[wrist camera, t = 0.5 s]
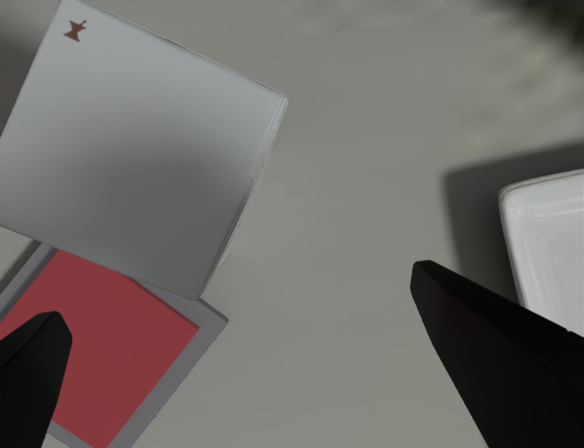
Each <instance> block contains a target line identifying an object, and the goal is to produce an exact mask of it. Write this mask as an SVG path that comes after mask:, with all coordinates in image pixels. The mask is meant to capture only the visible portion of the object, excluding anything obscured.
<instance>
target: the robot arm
mask: <svg viewBox="0 0 584 448" xmlns="http://www.w3.org/2000/svg"><path fill="white" fill-rule="evenodd" d="M410 290H411V294H412V297H413V299H414V302H415V304H416V306H417V309H418V311H419V314H420V316H421V319H422V321H423V323H424V326H425V328H426V331H427V333H428V336H429V338H430V340H431V342H432V345H433V346H434V348H435V350H436V352H437V354H438V356H439V358H440V360H441V361H442V363H443V365H444V367H445V369H446V371H447V372H448V374H449V376H450V378H451V380H452V381H453V383H454V385H455V387H456V389H457V391H458V392H459V394H460V396H461V398H462V400H463V402H464V403H465V405H466V407H467V409H468V411H469V412H470V414H471V416H472V418H473V420H474V422H475V423H476V425H477V427H478V429H479V431H480V433H481V434H482V436H483V438H484V440H485V442H486V443H487V445H488V447H489V448H584V337H582V336H581V335H579V334H577V333H575V332H573V331H568V330H567V329H566V328H564V327H563V326H561V325H559V324H557V323H555V322H553V321H551V320H549V319H547V318H545V317H543V316H541V315H539V314H537V313H535V312H533V311H531V310H529V309H527V308H525V307H523V306H521V305H519V304H517V303H515V302H513V301H511V300H509V299H507V298H505V297H503V296H501V295H499V294H497V293H495V292H493V291H491V290H489V289H487V288H485V287H483V286H481V285H479V284H477V283H475V282H473V281H471V280H469V279H467V278H465V277H463V276H461V275H459V274H457V273H455V272H453V271H451V270H449V269H447V268H445V267H443V266H441V265H440V264H438V263H436V262H434V261H431V260H423V261H417V262H415V263H414V265H413V269H412V276H411V283H410ZM72 343H73V338H72V334H71V331H70V330H69V328H68V326H67V324H66V322H65V320H64V318H63V317H62V315H61V313H59V312H58V311H49V312H42V313H38V314H36V315H35V316H34V317H32V318H31V319H29V320H28V321H27V322H25V323H24V324H22V325H21V326H20V327H18V328H17V329H15V330H14V331H13V332H11V333H10V334H8V335H7V336H6V337H4V338H3V339H1V340H0V448H41V447H42V444H43V441H44V439H45V436H46V433H47V430H48V428H49V425H50V422H51V419H52V417H53V414H54V411H55V408H56V405H57V402H58V398H59V395H60V391H61V387H62V383H63V379H64V375H65V371H66V367H67V363H68V359H69V355H70V351H71V347H72Z"/></svg>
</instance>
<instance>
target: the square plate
mask: <svg viewBox="0 0 584 448" xmlns="http://www.w3.org/2000/svg"><path fill="white" fill-rule="evenodd" d="M498 206H499V213H500V220H501V225H502V230H503V235H504V239H505V243H506V247H507V252H508V256H509V260H510V265H511V270H512V274H513V279H514V283H515V287H516V292H517V296H518V300H519V304H520V305H521V306H523V307H525V308H527V309H529V310H531V311H533V312H535V313H537V314H539V315H541V316H543V317H545V318H547V319H549V320H551V321H553V322H555V323H557V324H559V325H561V326H563V327H564V328H566V329H567V330H568V331H573V332H575V333H577V334H579V335H581V336H582V337H584V168H581V169H576V170H570V171H565V172H560V173H555V174H550V175H545V176H540V177H536V178H531V179H527V180H523V181H519V182H516V183H512V184H509V185H506V186H504V187H503V188H501V189H500V190H499V193H498Z"/></svg>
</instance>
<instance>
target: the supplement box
mask: <svg viewBox="0 0 584 448" xmlns="http://www.w3.org/2000/svg"><path fill="white" fill-rule="evenodd" d="M287 105H288V98H287V97H286V96H285V95H284V94H283V93H281V92H279V91H278V90H275V89H273V88H271V87H269V86H267V85H265V84H263V83H261V82H259V81H256V80H254V79H252V78H250V77H247V76H245V75H243V74H241V73H239V72H237V71H235V70H232V69H230V68H228V67H226V66H224V65H222V64H220V63H218V62H215V61H213V60H211V59H209V58H207V57H205V56H203V55H200V54H198V53H196V52H194V51H192V50H190V49H188V48H187V47H185V46H183V45H181V44H179V43H177V42H175V41H173V40H171V39H169V38H166V37H163V36H160V35H158V34H156V33H154V32H151V31H149V30H147V29H145V28H143V27H141V26H139V25H137V24H135V23H132V22H130V21H128V20H126V19H124V18H122V17H120V16H118V15H115V14H113V13H111V12H109V11H107V10H105V9H103V8H101V7H98V6H96V5H94V4H92V3H90V2H88V1H86V0H60V1H59V3H58V6H57V8H56V11H55V13H54V15H53V17H52V20H51V22H50V24H49V26H48V28H47V31H46V33H45V35H44V38H43V40H42V42H41V44H40V47H39V49H38V51H37V54H36V56H35V58H34V61H33V63H32V65H31V68H30V70H29V72H28V75H27V77H26V79H25V82H24V84H23V86H22V88H21V91H20V93H19V95H18V98H17V100H16V103H15V105H14V107H13V110H12V112H11V114H10V116H9V119H8V121H7V123H6V126H5V128H4V130H3V133H2V135H1V137H0V226H1V227H4V228H6V229H9V230H11V231H14V232H16V233H19V234H21V235H23V236H26V237H29V238H31V239H34V240H36V241H39V242H41V243H44V244H47V245H49V246H52V247H54V248H57V249H59V250H62V251H64V252H67V253H70V254H72V255H75V256H77V257H80V258H82V259H85V260H87V261H90V262H93V263H95V264H98V265H100V266H103V267H105V268H108V269H110V270H113V271H115V272H118V273H121V274H123V275H126V276H128V277H131V278H134V279H136V280H139V281H141V282H144V283H147V284H149V285H152V286H154V287H157V288H160V289H162V290H165V291H168V292H170V293H173V294H176V295H178V296H181V297H184V298H186V299H188V300H191V301H197V300H198V299H199V297H200V296H201V294H202V293H203V291H204V290H205V288H206V286H207V285H208V283H209V282H210V280H211V279H212V277H213V275H214V274H215V272H216V270H217V269H218V267H219V266H220V265H221V263H222V262H223V260H224V259H225V258H226V256H227V255H228V254H229V252H230V249H231V247H232V245H233V242H234V240H235V238H236V235H237V233H238V231H239V229H240V226H241V224H242V222H243V220H244V217H245V215H246V213H247V210H248V208H249V206H250V203H251V201H252V199H253V196H254V194H255V192H256V189H257V187H258V185H259V182H260V180H261V177H262V175H263V172H264V170H265V168H266V165H267V163H268V160H269V158H270V155H271V152H272V150H273V146H274V143H275V139H276V136H277V132H278V129H279V125H280V122H281V119H282V117H283V115H284V112H285V110H286V108H287Z"/></svg>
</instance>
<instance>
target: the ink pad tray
mask: <svg viewBox="0 0 584 448" xmlns="http://www.w3.org/2000/svg"><path fill="white" fill-rule="evenodd" d="M49 311H58V312H59V313H61V315H62V317H63V318H64V320H65V322H66V324H67V326H68V328H69V330H70V331H71V334H72V338H73V343H72V347H71V351H70V355H69V359H68V363H67V367H66V371H65V375H64V379H63V383H62V387H61V391H60V395H59V398H58V402H57V405H56V408H55V411H54V414H53V417H52V419H51V422H50V425H49V428H48V430H47V433H49V434H50V435H52V436H53V437H55V438H56V439H58V440H60V441H61V442H63V443H64V444H66V445H67V446H69V447H70V448H131V447H132V446H133V444H134V443H135V442H136V440H137V439H138V438H139V437H140V435H141V434H142V433H143V431H144V430H145V429H146V428H147V426H148V425H149V424H150V422H151V421H152V420H153V419H154V417H155V416H156V415H157V413H158V412H159V411H160V410H161V408H162V407H163V406H164V404H165V403H166V402H167V401H168V399H169V398H170V397H171V396H172V394H173V393H174V392H175V390H176V389H177V388H178V387H179V385H180V384H181V383H182V381H183V380H184V379H185V378H186V376H187V375H188V374H189V372H190V371H191V370H192V369H193V367H194V366H195V365H196V363H197V362H198V361H199V360H200V358H201V357H202V356H203V354H204V353H205V352H206V351H207V349H208V348H209V347H210V345H211V344H212V343H213V342H214V340H215V339H216V338H217V336H218V335H219V334H220V333H221V331H222V330H223V329H224V327H225V326H226V325H227V324H228V321H229V319H228V318H227V317H225V316H224V315H223V314H221V313H220V312H218V311H217V310H216V309H214V308H213V307H212V306H210V305H209V304H208V303H206V302H205V301H204V300H202V299H201V298H199V299H198V300H197V301H191V300H188V299H186V298H184V297H181V296H178V295H176V294H173V293H170V292H168V291H165V290H162V289H160V288H157V287H154V286H152V285H149V284H147V283H144V282H141V281H139V280H136V279H134V278H131V277H128V276H126V275H123V274H121V273H118V272H115V271H113V270H110V269H108V268H105V267H103V266H100V265H98V264H95V263H93V262H90V261H87V260H85V259H82V258H80V257H77V256H75V255H72V254H70V253H67V252H64V251H62V250H59V249H57V248H54V247H52V246H49V245H47V244H44V243H41V245H40V246H39V247H38V248H37V250H36V251H35V252H34V253H33V255H32V256H31V257H30V258H29V260H28V261H27V262H26V263H25V265H24V266H23V267H22V268H21V270H20V271H19V272H18V273H17V275H16V276H15V277H14V278H13V280H12V281H11V282H10V283H9V285H8V286H7V287H6V288H5V290H4V291H3V292H2V293H1V294H0V340H1V339H3V338H4V337H6V336H7V335H8V334H10V333H11V332H13V331H14V330H15V329H17V328H18V327H20V326H21V325H22V324H24V323H25V322H27V321H28V320H29V319H31V318H32V317H34V316H35V315H36V314H38V313H42V312H49Z"/></svg>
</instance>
